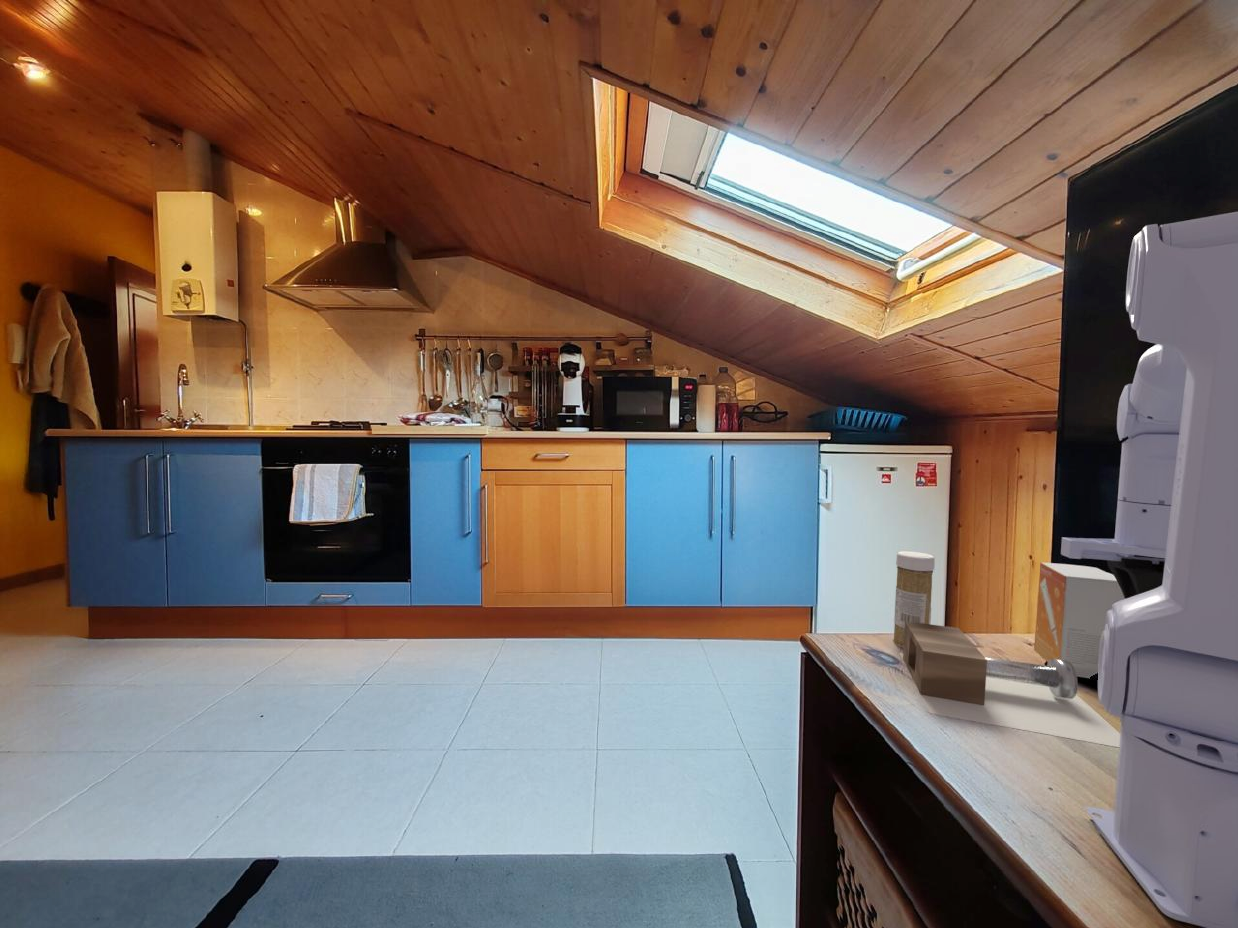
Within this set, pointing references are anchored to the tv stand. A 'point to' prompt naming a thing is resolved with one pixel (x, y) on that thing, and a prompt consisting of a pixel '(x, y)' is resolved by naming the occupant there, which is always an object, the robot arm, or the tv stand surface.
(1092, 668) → the small box
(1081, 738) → the board
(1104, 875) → the tv stand surface
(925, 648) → the block
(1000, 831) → the tv stand surface
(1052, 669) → the pin
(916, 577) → the sprinkles bottle
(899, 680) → the tv stand surface
